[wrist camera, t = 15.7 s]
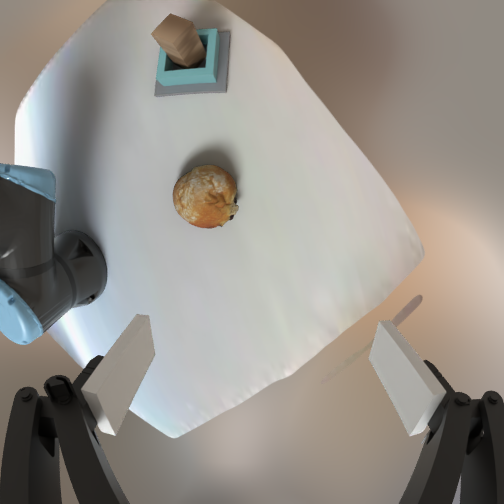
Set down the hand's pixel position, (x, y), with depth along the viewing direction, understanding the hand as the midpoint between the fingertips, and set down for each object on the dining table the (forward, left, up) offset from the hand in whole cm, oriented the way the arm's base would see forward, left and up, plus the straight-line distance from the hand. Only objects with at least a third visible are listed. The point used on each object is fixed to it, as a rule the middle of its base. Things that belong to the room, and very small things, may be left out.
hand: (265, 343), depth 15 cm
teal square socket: (-12, +29, -32) cm, 45 cm away
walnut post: (-12, +29, -31) cm, 44 cm away
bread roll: (-8, +5, -32) cm, 33 cm away
